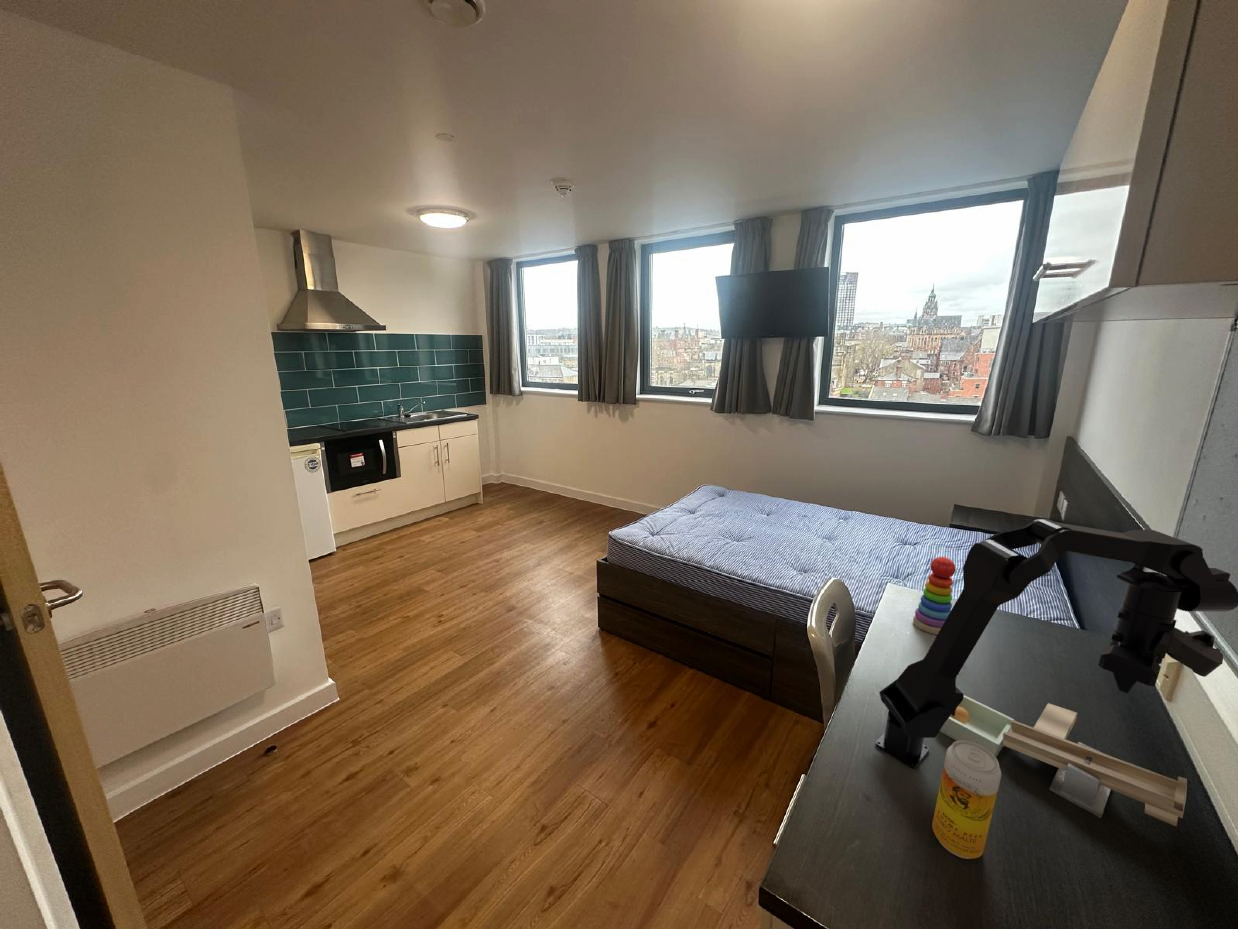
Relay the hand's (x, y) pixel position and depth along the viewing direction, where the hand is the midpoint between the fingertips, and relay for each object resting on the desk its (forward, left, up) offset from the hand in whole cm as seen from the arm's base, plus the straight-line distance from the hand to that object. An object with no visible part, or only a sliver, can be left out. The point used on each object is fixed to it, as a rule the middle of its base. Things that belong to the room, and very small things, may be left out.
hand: (1123, 691), depth 81 cm
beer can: (-39, +10, -12) cm, 42 cm away
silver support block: (-14, +1, -12) cm, 18 cm away
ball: (-14, +18, -10) cm, 25 cm away
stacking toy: (+17, +34, -12) cm, 40 cm away
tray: (-14, +16, -12) cm, 24 cm away
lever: (-8, +1, -10) cm, 13 cm away
